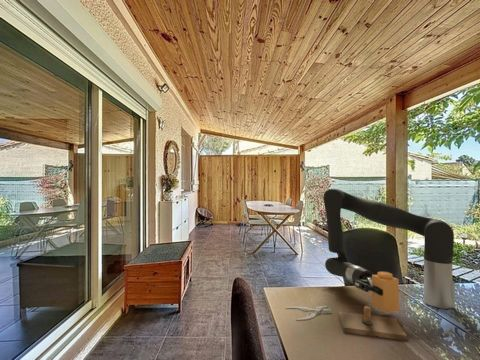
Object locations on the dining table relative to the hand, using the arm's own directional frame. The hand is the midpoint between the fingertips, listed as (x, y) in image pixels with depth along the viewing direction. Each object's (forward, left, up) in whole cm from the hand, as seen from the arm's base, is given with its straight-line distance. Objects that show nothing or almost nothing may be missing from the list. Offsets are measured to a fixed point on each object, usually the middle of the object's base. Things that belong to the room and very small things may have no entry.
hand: (390, 292), depth 95 cm
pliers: (+27, +3, -10) cm, 29 cm away
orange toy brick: (+1, -2, -7) cm, 7 cm away
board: (+8, +8, -9) cm, 15 cm away
